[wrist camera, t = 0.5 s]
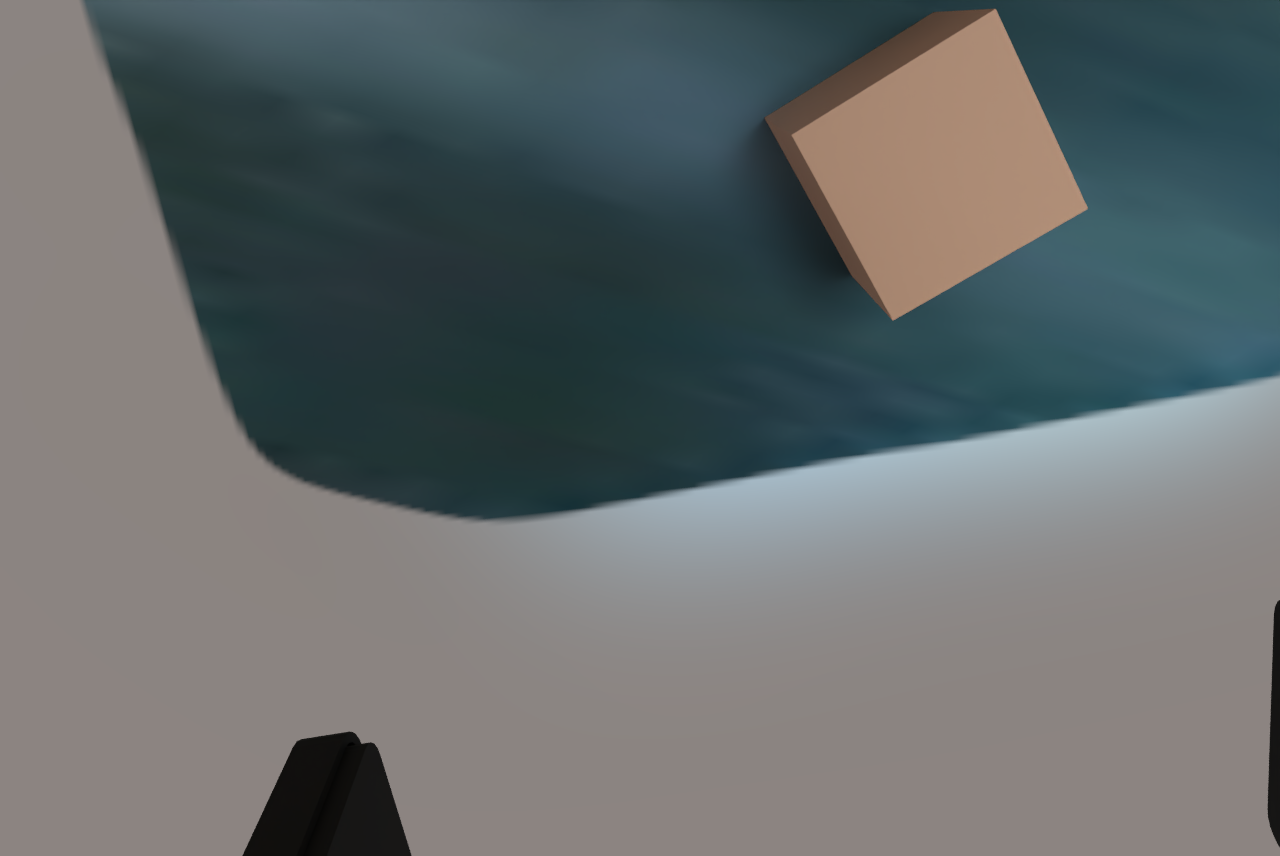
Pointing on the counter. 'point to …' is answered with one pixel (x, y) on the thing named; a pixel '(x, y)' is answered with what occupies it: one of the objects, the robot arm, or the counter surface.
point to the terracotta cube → (928, 158)
